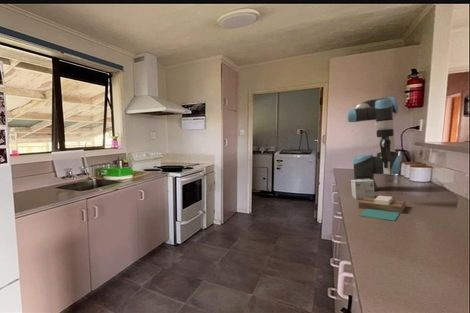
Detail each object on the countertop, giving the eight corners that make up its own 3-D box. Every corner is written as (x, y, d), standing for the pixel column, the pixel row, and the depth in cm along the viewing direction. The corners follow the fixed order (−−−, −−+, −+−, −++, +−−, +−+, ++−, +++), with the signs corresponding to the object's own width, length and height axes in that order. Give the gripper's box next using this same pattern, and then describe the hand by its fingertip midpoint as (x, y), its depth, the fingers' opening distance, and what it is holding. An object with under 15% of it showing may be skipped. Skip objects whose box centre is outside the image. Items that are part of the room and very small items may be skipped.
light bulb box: (369, 195, 141) (368, 178, 140) (375, 198, 134) (374, 180, 134) (351, 196, 142) (350, 179, 141) (356, 199, 135) (354, 181, 135)
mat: (366, 209, 117) (366, 208, 117) (399, 213, 107) (399, 212, 107) (358, 215, 108) (358, 215, 108) (394, 221, 99) (394, 220, 99)
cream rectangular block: (378, 199, 122) (378, 195, 122) (392, 200, 117) (392, 196, 117) (374, 203, 115) (374, 199, 115) (388, 205, 111) (388, 201, 111)
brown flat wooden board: (365, 202, 128) (365, 197, 128) (405, 206, 116) (405, 200, 115) (358, 208, 120) (358, 202, 119) (401, 213, 107) (401, 207, 107)
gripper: (379, 129, 129) (381, 171, 130) (373, 130, 119) (375, 175, 120) (395, 128, 123) (397, 172, 125) (390, 128, 114) (392, 176, 115)
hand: (386, 173), depth 122 cm, fingers closed
